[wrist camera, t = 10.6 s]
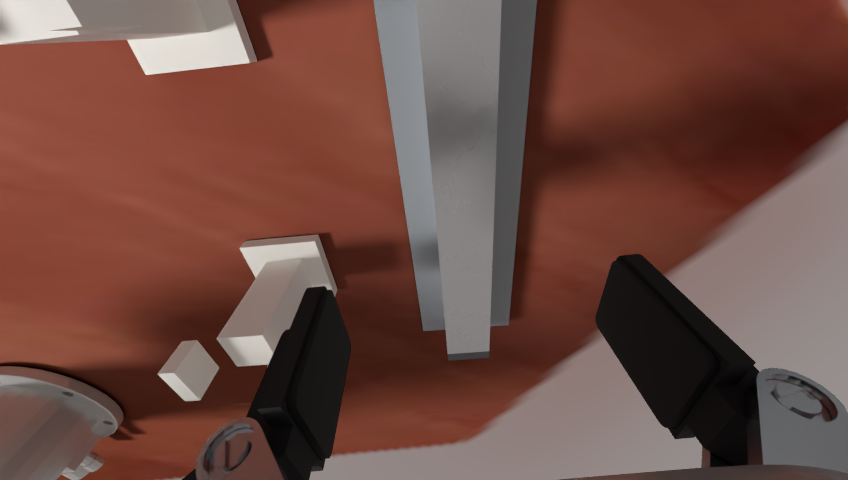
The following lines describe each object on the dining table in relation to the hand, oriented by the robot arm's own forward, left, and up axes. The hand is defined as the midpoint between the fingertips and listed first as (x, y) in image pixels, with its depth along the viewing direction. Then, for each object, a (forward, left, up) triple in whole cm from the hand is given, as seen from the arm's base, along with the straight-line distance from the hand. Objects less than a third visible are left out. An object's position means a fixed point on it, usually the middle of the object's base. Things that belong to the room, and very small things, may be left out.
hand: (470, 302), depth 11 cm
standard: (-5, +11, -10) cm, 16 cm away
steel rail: (0, -1, -9) cm, 9 cm away
